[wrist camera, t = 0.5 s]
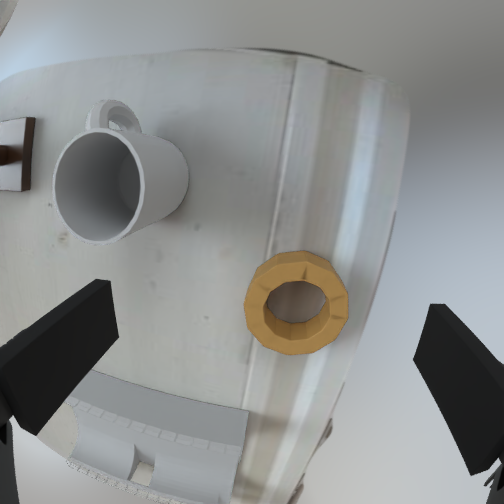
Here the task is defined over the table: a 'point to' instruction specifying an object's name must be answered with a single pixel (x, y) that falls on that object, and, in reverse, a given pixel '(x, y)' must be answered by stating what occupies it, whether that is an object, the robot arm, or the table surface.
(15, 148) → the stand
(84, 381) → the skate ramp
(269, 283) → the tape roll
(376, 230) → the table surface
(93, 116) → the cup
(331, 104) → the table surface
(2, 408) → the robot arm
